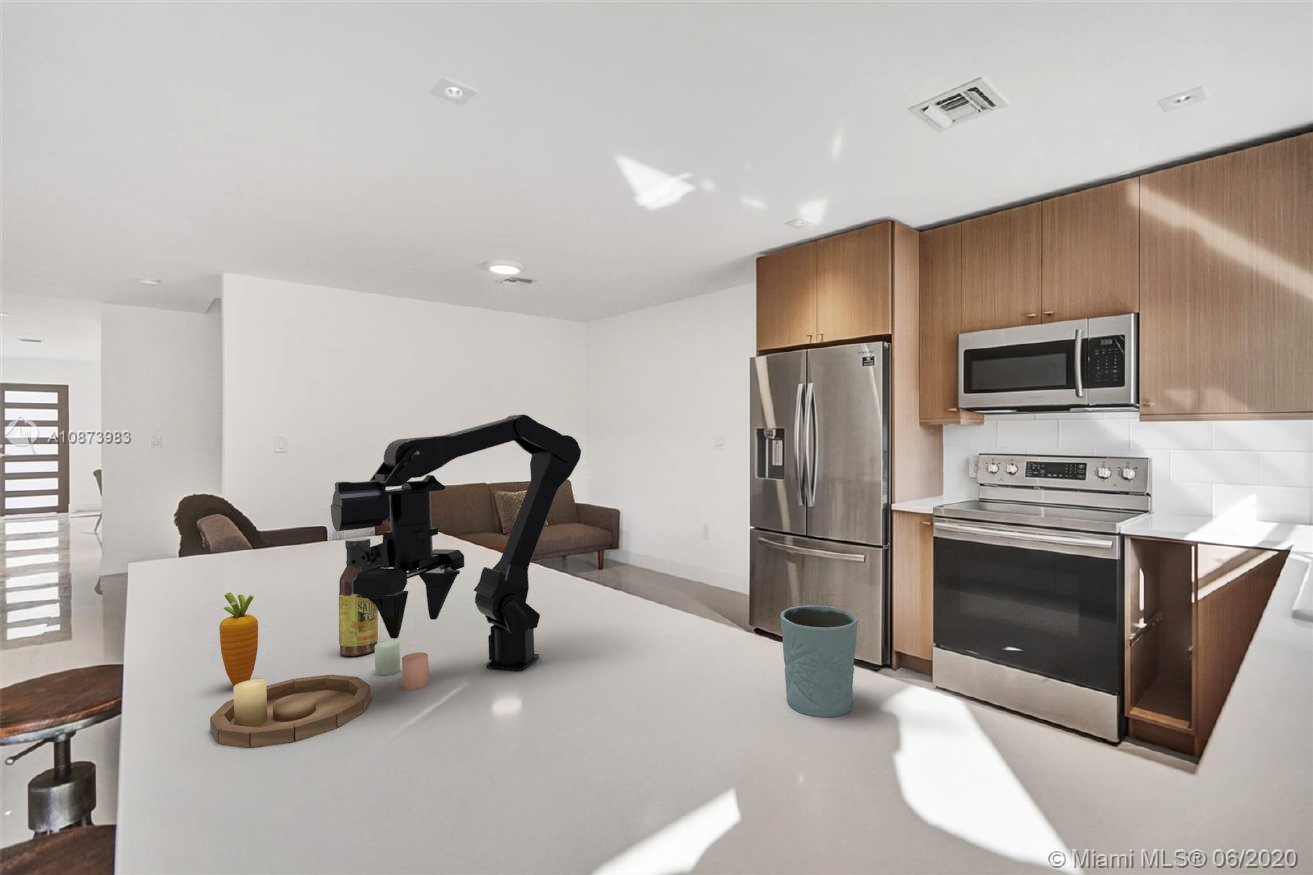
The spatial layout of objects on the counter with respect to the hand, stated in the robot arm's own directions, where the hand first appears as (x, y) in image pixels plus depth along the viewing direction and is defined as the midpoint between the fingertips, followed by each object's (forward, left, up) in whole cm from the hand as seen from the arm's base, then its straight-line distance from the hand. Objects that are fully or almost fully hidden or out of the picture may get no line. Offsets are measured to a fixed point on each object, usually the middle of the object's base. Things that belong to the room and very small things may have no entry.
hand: (414, 628), depth 94 cm
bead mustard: (+14, +16, -8) cm, 22 cm away
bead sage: (+8, -4, -9) cm, 13 cm away
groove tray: (+10, +12, -9) cm, 18 cm away
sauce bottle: (+21, -13, -9) cm, 26 cm away
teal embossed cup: (-58, -7, -9) cm, 59 cm away
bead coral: (0, 0, -9) cm, 9 cm away
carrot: (+26, +6, -9) cm, 28 cm away
